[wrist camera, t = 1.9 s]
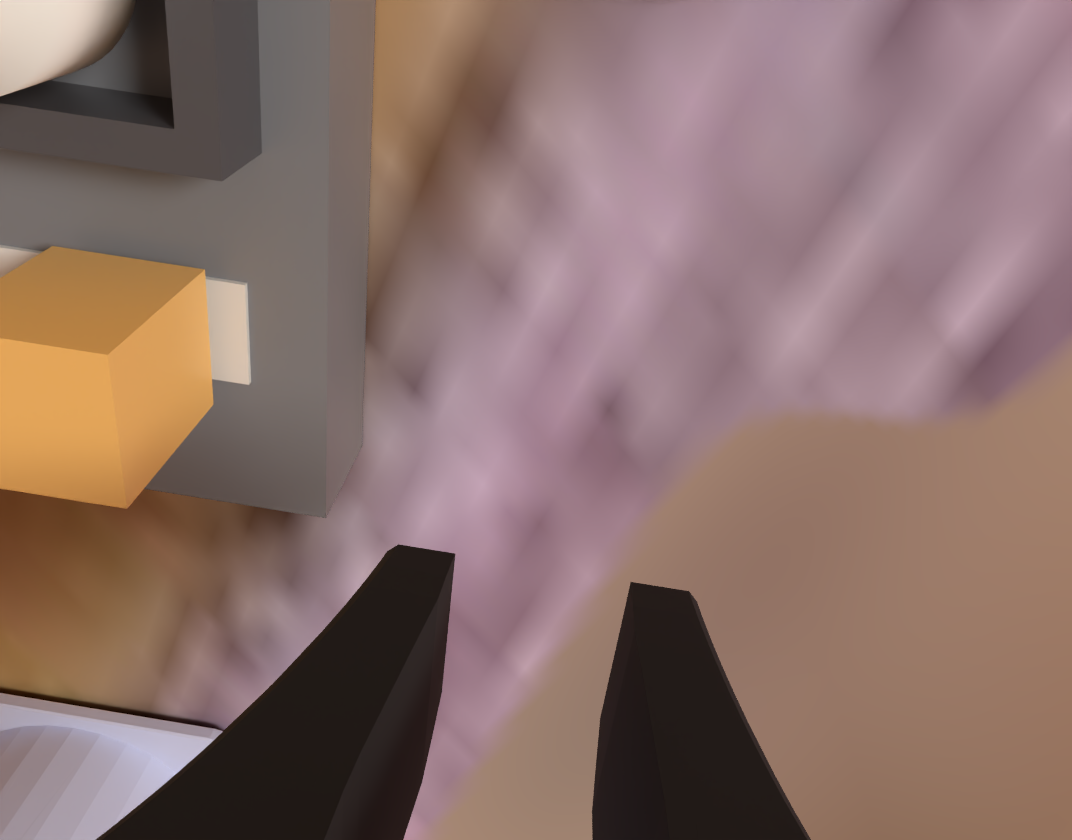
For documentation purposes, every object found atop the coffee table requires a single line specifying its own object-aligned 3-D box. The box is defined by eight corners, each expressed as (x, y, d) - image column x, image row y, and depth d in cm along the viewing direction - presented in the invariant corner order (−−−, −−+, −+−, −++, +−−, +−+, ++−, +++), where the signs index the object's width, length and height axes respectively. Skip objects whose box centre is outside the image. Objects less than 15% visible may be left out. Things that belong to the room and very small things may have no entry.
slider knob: (213, 404, 16) (127, 508, 13) (73, 382, 16) (-41, 481, 13) (205, 269, 14) (107, 354, 12) (52, 246, 14) (-78, 325, 12)
